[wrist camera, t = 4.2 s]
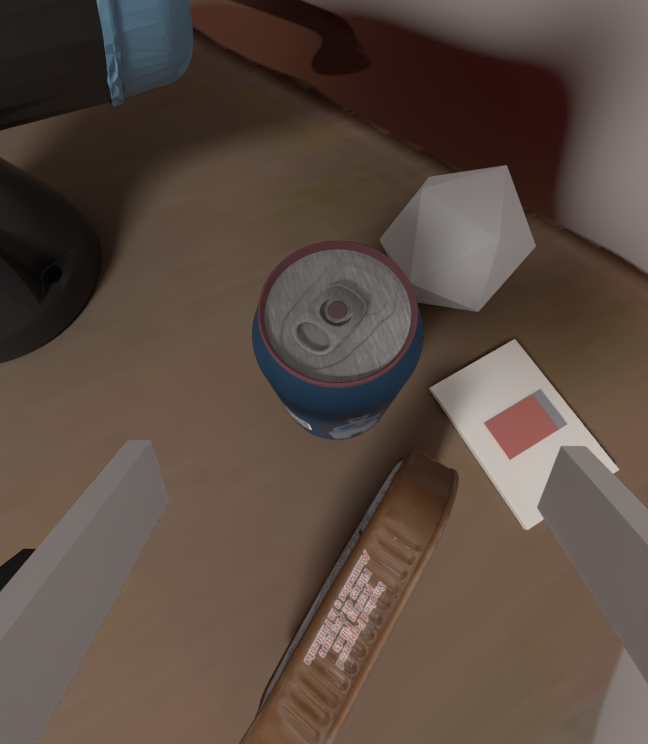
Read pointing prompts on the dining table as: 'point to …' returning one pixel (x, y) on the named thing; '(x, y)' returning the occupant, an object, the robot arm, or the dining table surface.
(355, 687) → the tin
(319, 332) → the soda can
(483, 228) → the die
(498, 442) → the card
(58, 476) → the dining table surface
